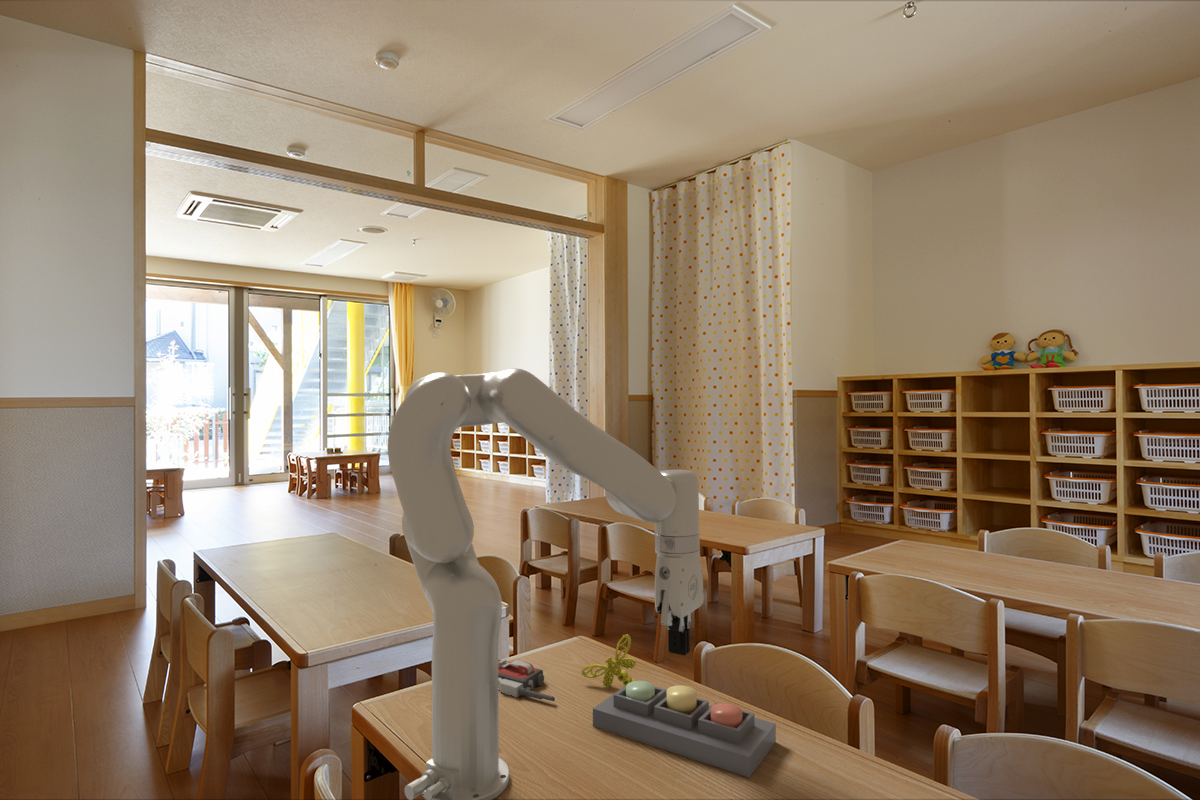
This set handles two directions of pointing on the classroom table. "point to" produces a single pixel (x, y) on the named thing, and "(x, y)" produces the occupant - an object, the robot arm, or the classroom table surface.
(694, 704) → the mustard button
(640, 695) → the sage button
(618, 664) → the decorative insect
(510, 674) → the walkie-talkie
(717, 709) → the red button
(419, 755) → the classroom table surface
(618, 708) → the button panel
